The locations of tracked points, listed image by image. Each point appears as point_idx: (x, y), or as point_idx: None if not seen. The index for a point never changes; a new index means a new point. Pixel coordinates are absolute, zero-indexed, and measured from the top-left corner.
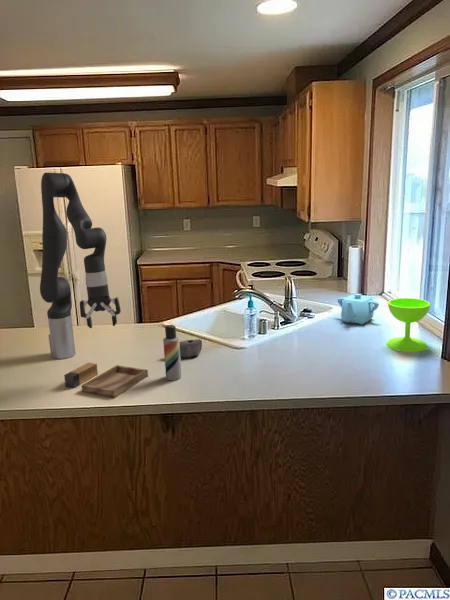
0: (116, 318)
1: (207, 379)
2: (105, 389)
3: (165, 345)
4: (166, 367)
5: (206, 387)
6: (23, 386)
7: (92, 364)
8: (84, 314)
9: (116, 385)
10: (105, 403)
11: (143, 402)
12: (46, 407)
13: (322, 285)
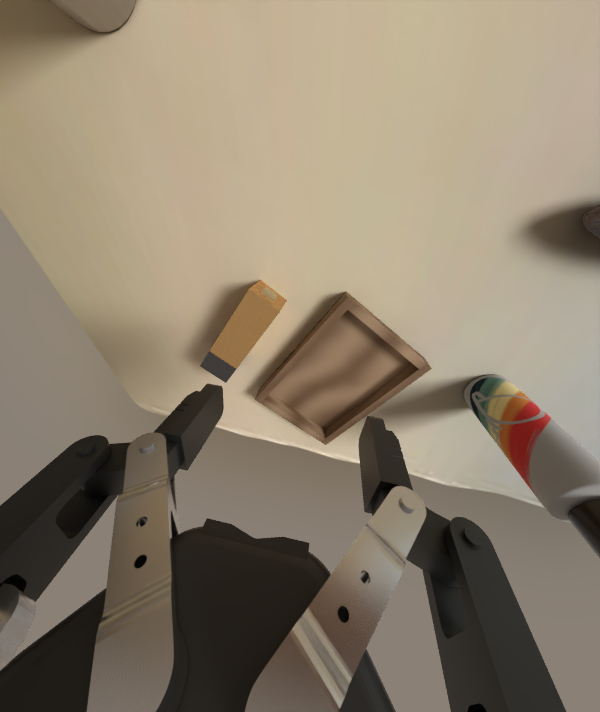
0: (404, 467)
1: None
2: (308, 433)
3: (533, 491)
4: (481, 421)
5: None
6: (108, 312)
7: (266, 313)
8: (114, 493)
9: (333, 394)
10: (308, 443)
11: None
12: None
13: None
